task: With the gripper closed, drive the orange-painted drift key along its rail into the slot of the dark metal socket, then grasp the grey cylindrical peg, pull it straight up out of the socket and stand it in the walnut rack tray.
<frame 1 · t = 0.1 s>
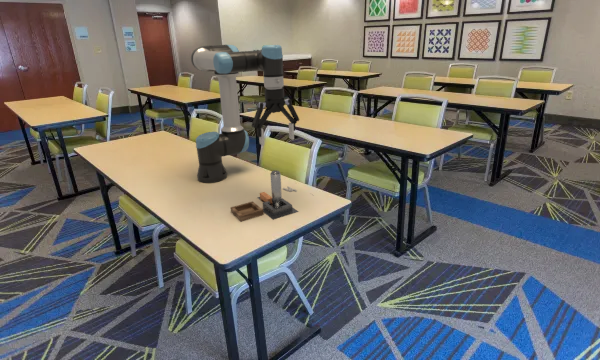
hand: (277, 141, 144), 28 cm above the table, fingers open, 13 cm apart
drift key: (266, 197, 156), point 2 cm above the table, slide at 0.0 cm
socket: (277, 210, 149), on the table
grey cylindrical peg: (277, 209, 148), point 1 cm above the table, touching socket
pliers: (295, 195, 164), on the table
rack tray: (247, 214, 146), on the table
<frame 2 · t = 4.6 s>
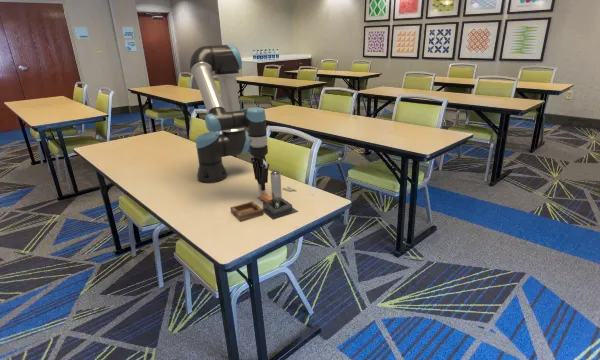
hand: (262, 196, 159), 2 cm above the table, fingers closed
drift key: (267, 198, 155), point 2 cm above the table, slide at 1.1 cm, touching gripper
everything else where it was.
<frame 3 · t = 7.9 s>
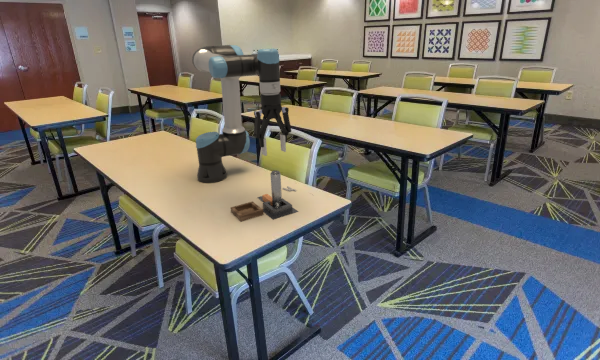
hand: (274, 152, 139), 25 cm above the table, fingers open, 8 cm apart
drift key: (269, 200, 154), point 2 cm above the table, slide at 2.7 cm
everything else where it was.
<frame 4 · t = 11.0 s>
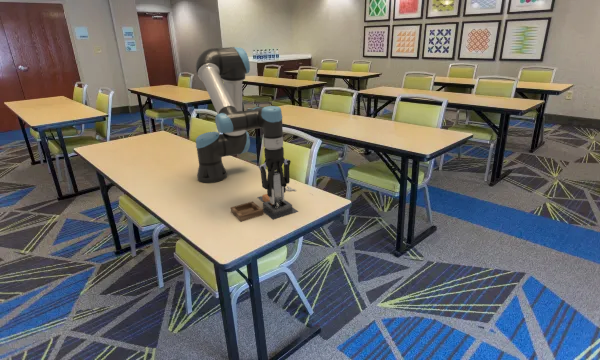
hand: (277, 201, 147), 4 cm above the table, fingers closed on grey cylindrical peg, 4 cm apart
grey cylindrical peg: (277, 209, 148), point 1 cm above the table, touching gripper, socket
everything else where it was.
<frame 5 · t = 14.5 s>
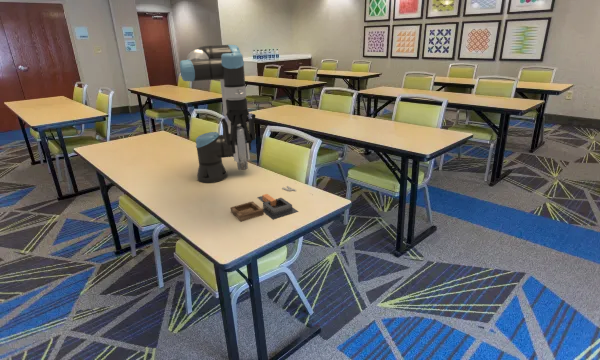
hand: (242, 159, 137), 24 cm above the table, fingers closed on grey cylindrical peg, 4 cm apart
grey cylindrical peg: (242, 168, 138), point 20 cm above the table, touching gripper
everything else where it was.
when the fingers open (6 cm above the table, at t = 17.9 s): grey cylindrical peg drops 1 cm, resting on rack tray.
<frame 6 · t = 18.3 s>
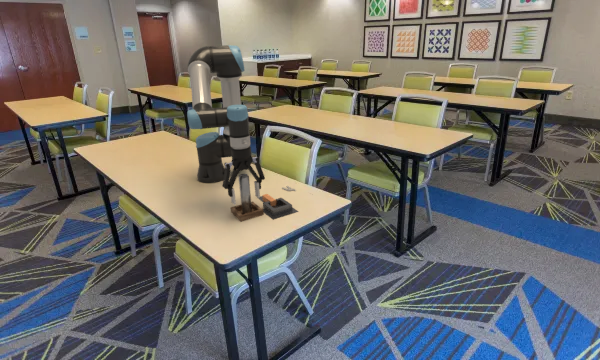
hand: (245, 199, 143), 7 cm above the table, fingers open, 10 cm apart
grey cylindrical peg: (247, 213, 146), point 1 cm above the table, touching rack tray
everything else where it was.
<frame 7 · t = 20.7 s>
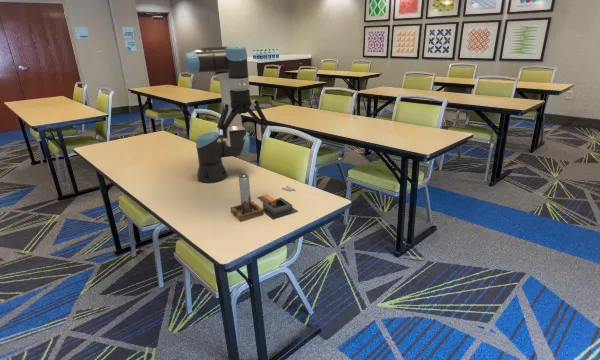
hand: (244, 142, 144), 28 cm above the table, fingers open, 13 cm apart
nothing on the table moved.
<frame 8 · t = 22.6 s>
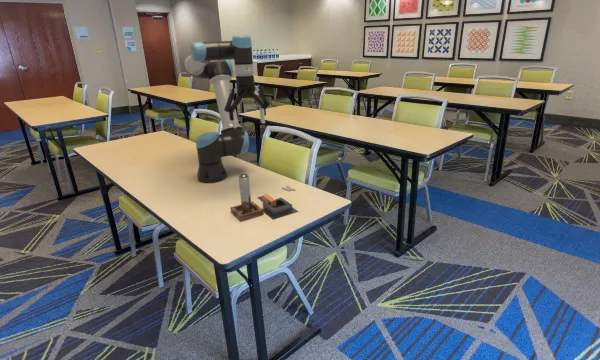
hand: (249, 125, 156), 32 cm above the table, fingers open, 13 cm apart
nothing on the table moved.
at the end: drift key slide at 2.7 cm; grey cylindrical peg inside the target area on the rack tray (0.0 cm from its centre), point 0.8 cm above the rack tray's base; grey cylindrical peg tilted 0° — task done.
